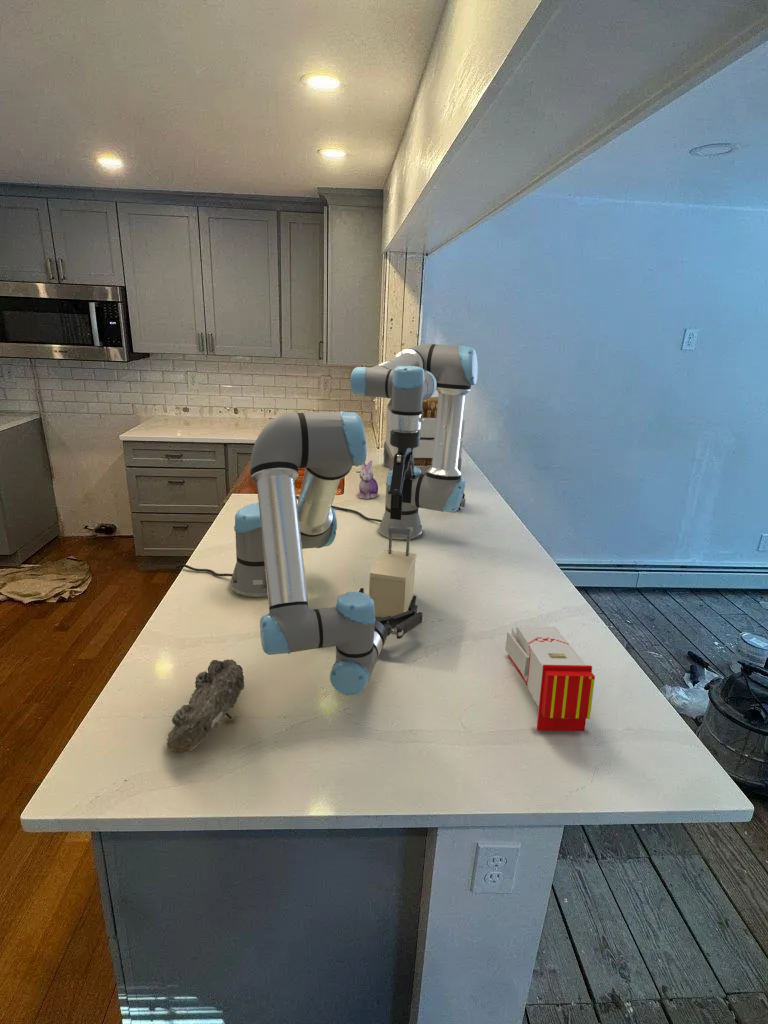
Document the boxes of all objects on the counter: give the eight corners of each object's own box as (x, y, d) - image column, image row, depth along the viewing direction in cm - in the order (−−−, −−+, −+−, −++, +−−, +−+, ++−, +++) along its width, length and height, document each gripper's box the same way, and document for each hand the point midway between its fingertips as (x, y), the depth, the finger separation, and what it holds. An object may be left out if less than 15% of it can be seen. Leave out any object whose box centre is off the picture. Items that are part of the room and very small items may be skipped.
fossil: (192, 660, 117) (244, 628, 112) (224, 691, 120) (276, 661, 115) (142, 746, 98) (202, 712, 93) (182, 779, 101) (242, 748, 96)
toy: (551, 610, 133) (604, 672, 104) (546, 663, 136) (596, 738, 106) (500, 609, 132) (538, 671, 103) (496, 662, 135) (532, 737, 106)
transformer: (382, 463, 289) (386, 382, 275) (445, 464, 293) (451, 384, 279) (390, 482, 257) (394, 392, 243) (460, 483, 261) (468, 394, 247)
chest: (381, 591, 159) (382, 554, 155) (413, 595, 157) (415, 559, 154) (368, 616, 146) (369, 577, 142) (403, 621, 144) (405, 582, 140)
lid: (383, 553, 156) (385, 522, 153) (416, 557, 154) (418, 526, 151) (369, 577, 142) (371, 544, 139) (405, 582, 140) (407, 548, 137)
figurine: (363, 500, 232) (364, 465, 227) (352, 493, 240) (353, 459, 235) (383, 498, 236) (385, 463, 231) (372, 491, 244) (373, 457, 239)
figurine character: (465, 515, 224) (460, 499, 237) (467, 498, 221) (462, 483, 234) (448, 515, 224) (444, 499, 237) (450, 498, 220) (445, 482, 234)
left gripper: (312, 646, 128) (340, 602, 148) (421, 665, 123) (435, 617, 142) (312, 617, 125) (341, 576, 145) (423, 635, 120) (437, 590, 140)
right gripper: (411, 442, 129) (406, 528, 136) (428, 422, 152) (422, 497, 159) (379, 439, 131) (375, 524, 138) (400, 420, 153) (396, 494, 161)
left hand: (388, 596), depth 144 cm, fingers open, 13 cm apart
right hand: (401, 510), depth 148 cm, fingers open, 13 cm apart
